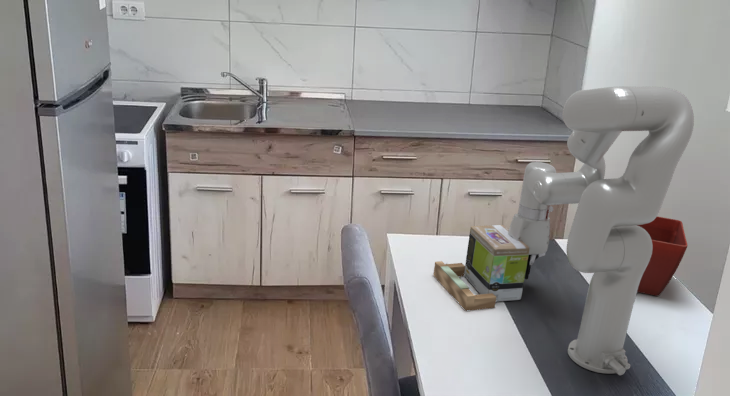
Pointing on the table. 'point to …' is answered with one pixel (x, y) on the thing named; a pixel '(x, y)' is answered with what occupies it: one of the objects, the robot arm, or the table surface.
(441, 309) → the table surface
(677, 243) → the plant pot
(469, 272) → the tea box
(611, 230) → the robot arm
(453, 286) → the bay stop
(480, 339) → the table surface
